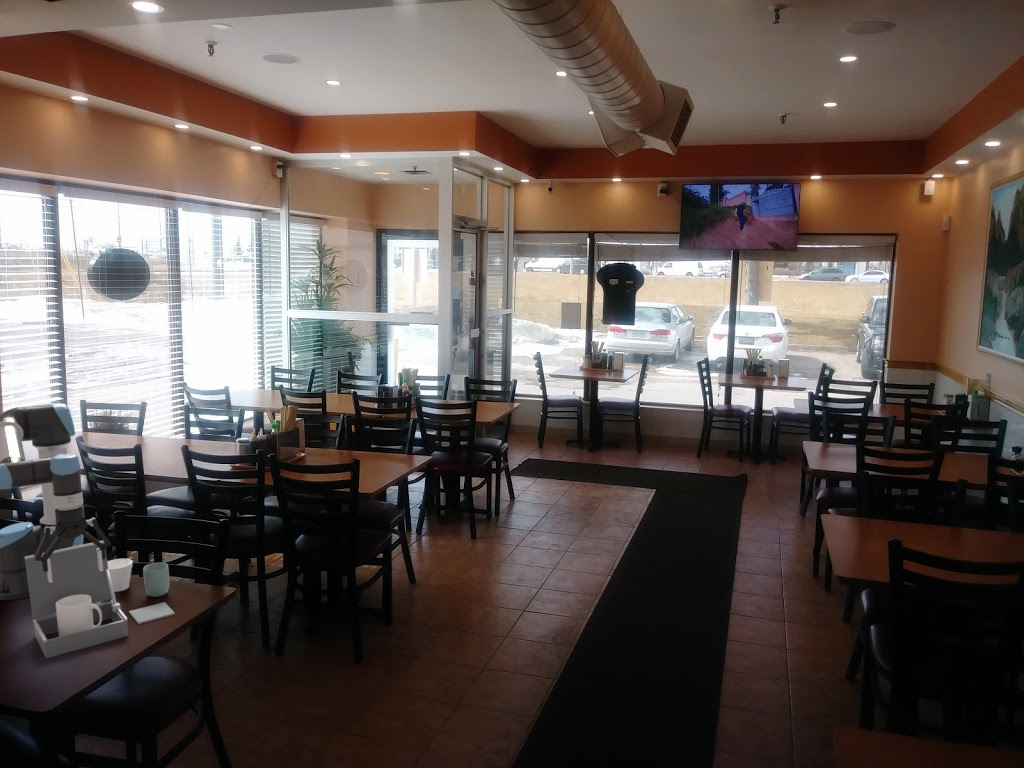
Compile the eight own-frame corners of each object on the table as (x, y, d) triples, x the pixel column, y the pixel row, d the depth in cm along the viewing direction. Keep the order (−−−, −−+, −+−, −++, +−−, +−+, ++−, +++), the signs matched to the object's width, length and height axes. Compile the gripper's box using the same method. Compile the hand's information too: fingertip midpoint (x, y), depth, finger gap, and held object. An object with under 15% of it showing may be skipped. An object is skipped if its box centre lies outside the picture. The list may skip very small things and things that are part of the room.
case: (33, 635, 247) (28, 585, 245) (114, 614, 261) (109, 567, 259) (45, 658, 232) (40, 606, 230) (130, 635, 246) (125, 585, 244)
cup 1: (114, 582, 287) (112, 557, 286) (140, 584, 286) (138, 558, 285) (96, 594, 278) (94, 568, 276) (123, 595, 276) (121, 569, 275)
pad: (129, 612, 262) (129, 611, 262) (164, 603, 269) (164, 602, 269) (138, 624, 254) (138, 622, 254) (174, 614, 260) (174, 612, 260)
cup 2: (149, 601, 271) (147, 572, 270) (142, 594, 277) (139, 566, 275) (173, 594, 276) (171, 566, 275) (165, 588, 282) (163, 560, 280)
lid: (33, 618, 245) (32, 617, 246) (112, 598, 259) (111, 597, 260) (25, 557, 245) (24, 556, 246) (104, 540, 259) (103, 540, 260)
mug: (60, 634, 248) (56, 597, 246) (104, 626, 253) (100, 590, 251) (58, 647, 239) (54, 609, 237) (103, 638, 244) (100, 601, 243)
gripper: (22, 518, 229) (30, 590, 232) (117, 501, 245) (123, 568, 248) (18, 512, 235) (26, 582, 238) (111, 496, 251) (117, 562, 254)
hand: (75, 575), depth 243 cm, fingers open, 13 cm apart
